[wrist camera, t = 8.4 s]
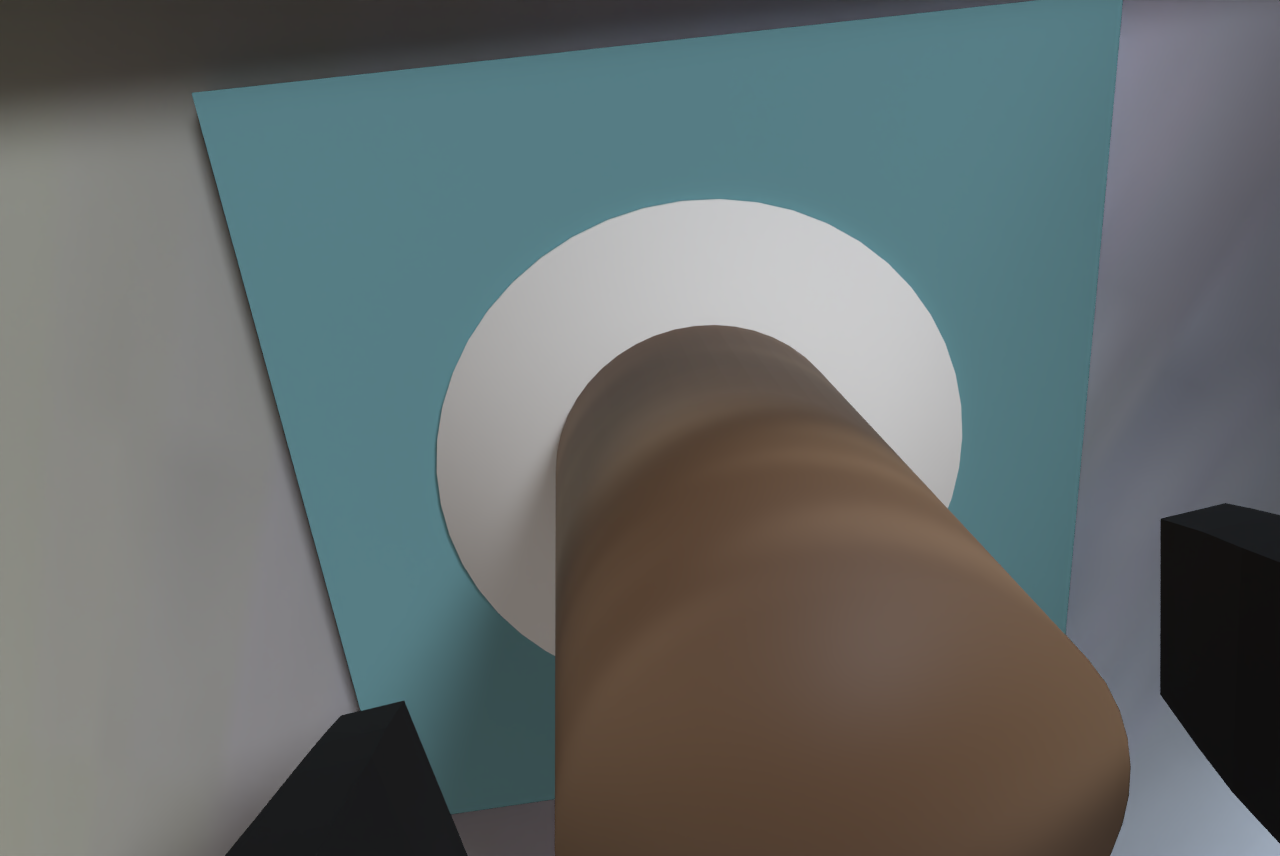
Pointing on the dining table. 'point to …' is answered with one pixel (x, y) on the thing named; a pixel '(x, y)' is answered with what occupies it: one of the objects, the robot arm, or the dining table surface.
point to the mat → (657, 303)
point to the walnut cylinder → (797, 635)
